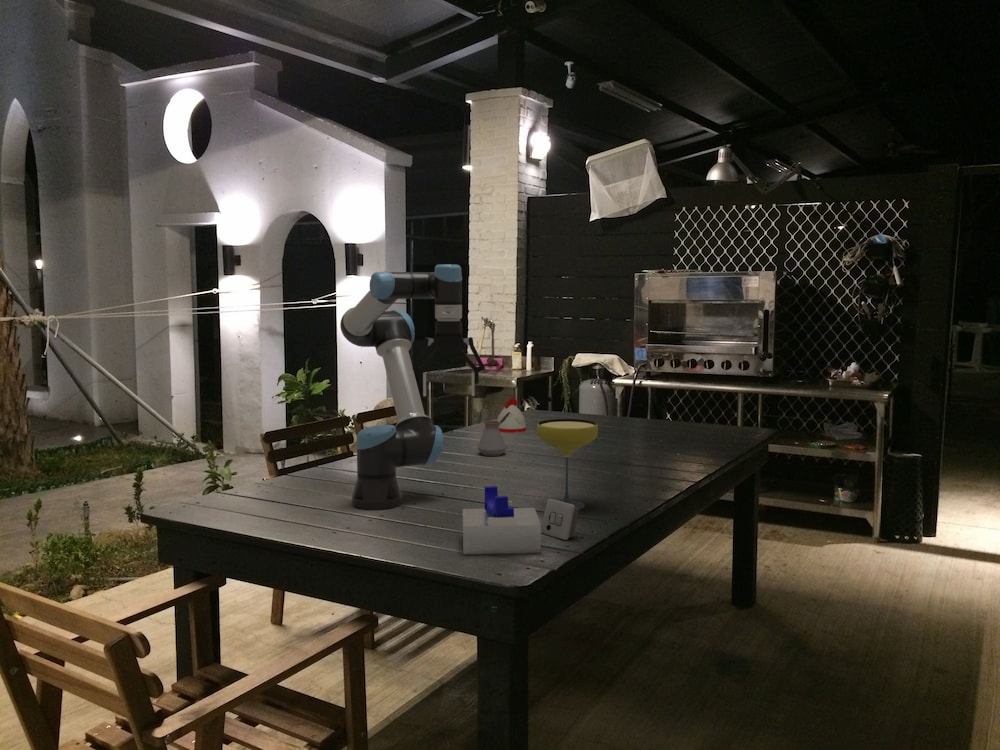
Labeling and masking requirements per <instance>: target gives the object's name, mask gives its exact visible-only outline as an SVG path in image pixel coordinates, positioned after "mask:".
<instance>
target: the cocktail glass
mask: <svg viewBox="0 0 1000 750" xmlns="http://www.w3.org/2000/svg"><path fill="white" fill-rule="evenodd" d="M598 433H599V427H598V423H597V422H595V421H591V420H587V419H586V420H585V419H578V418H556V419H554V418H552V419H546V420H541V421H539V422H537V424H536V434H537V436H538V438H539V439H540V440H541V441H543V443H546V444H548V445H549V446H551V447H553V448H555V449H556V450H558V451H559V452H560V453H561V454H562V456H563V457H564V458H565V493H564V498H563V500H561V499H560V501H561V502H565V503H568V504H572V505H574V508H578V509H579V510H582V509H584V508H585V504H584V503H583V502H581V501H576V500H570V497H569V458H570V457H571V456H572V455H573V454H574V452H575V451H577V450H579V449H580V448H582V447H584V446H587V445H589V444H590V443H592V442H593V441H594V440H595V439H596V438H597V437H598Z"/></svg>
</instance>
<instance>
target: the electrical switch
mask: <svg viewBox="0 0 1000 750" xmlns="http://www.w3.org/2000/svg"><path fill="white" fill-rule="evenodd" d="M579 512H580V509H578V508H574V505H572V504H568V503H565V502H561V500H557V499H553V498H548V499H547V501H546V505H545V508H544V513H543V514H544V515H543V520H542V524H541V534H544V535H547V536H551V537H554V538H557V539H560V540H564V541H568V540H569V538H572V537H573V538H574V536H575V531H576V526H577V521H578V517H579Z"/></svg>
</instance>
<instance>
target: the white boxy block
mask: <svg viewBox="0 0 1000 750" xmlns="http://www.w3.org/2000/svg"><path fill="white" fill-rule="evenodd" d="M508 506H512V507H513V501H512V500H508ZM513 508H514V517H491V516H490V514H489V513H488V512H487V511H486V510H485V508H462V548H463V549H462V551H463V553H462V554H463V555H497V554H498V555H501V554H502V555H505V554H509V555H511V554H541V553H542V532H541V528H542V524H541V522H540V519H539V516H538V514H537V510H536V509H535V507H513Z"/></svg>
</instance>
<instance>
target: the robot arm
mask: <svg viewBox="0 0 1000 750" xmlns="http://www.w3.org/2000/svg"><path fill="white" fill-rule="evenodd" d="M402 299H403V300H407V299H408V300H409V299H411V300H412V299H419V300H421V299H422V300H423V299H426V300H429V299H430V300H433V299H434V319H435V320H436V321H435V322H434V338H433V337H426V336H425V337H424V339H423V346H422V347H421V349H420V352H419V354H418V356H417V358H416V360H415V362H414V363H413V364H412V360H411V356H410V352H409V351H410V350H411V348H412V345H413V343H414V341H415V336H416V335H415V330H416V329H415V325H414V322H413V320H412V318H411V316H410V315H409V314H408V313H407V312H405V311H403V310H401V311H400V310H396V309H395V310H393V309H391V310H388V309H390V308H391V306H392V305H393V304H394V303H395V302H397V300H402ZM462 301H463V276H462V267H461V266H460V265H459V264H450V263H449V264H448V263H447V264H443V263H442V264H436V265H435V266H434V272H433V271H432V272H431V271H430V272H428V271H427V272H425V271H424V272H422V271H420V272H419V271H417V272H416V271H414V272H413V271H387V270H383V271H376V272H373V274H372V275H371V277H370V279H369V291H368V292H367V293H366V294H365V295H364V296H363V297H362V298H361V300H360V301H358V303H357V304H356V305H355V306H352V307H351V308H349V309H347V310H346V311H345V313H343V315H342V317H341V319H340V324H339V325H340V326H339V328H340V332H341V334H342V336H343V338H345V340H347V341H348V342H349V343H350V344H352V345H354V346H357V347H362V348H366V347H367V348H372V347H373V348H375V351H376V354H377V355H378V356H379V357H381V358H382V359H383V360H382V361H383V364H384V368H385V371H386V376H387V380H388V381H387V382H388V385H389V389H390V393H391V397H392V403H393V405H394V411H395V414H396V417H397V423H396V425H393V424H377V425H371V426H367V427H365V428H363V429H360V431H359V432H358V433H357V435H356V444H355V449H356V472H357V473H356V477H357V478H356V482H355V485H354V488H353V491H352V494H351V506H352V507H354V506H355V508H357V507H358V508H357V509H361V508H362V510H386V509H391V508H395V507H399V506H400V505H401V504H403V493H402V491H401V488H400V485H399V482H398V479H397V468H402V467H403V468H404V467H411V466H421V465H423V466H426V465H429V464H433V463H434V464H435V463H436V462H438V461H439V459H440V458H441V456H442V454H443V450H444V449H443V448H444V435H443V431H442V429H441V427H440V426H439V425H436V424H433V421H432V418H431V417H430V416H428V415H426V414H425V410H424V406H423V402H422V398H421V395H420V391H419V387H418V383H419V384H420V385H422V390H423V391H422V393H423V395H422V396H423V397H427V372H425V370H426V369H427V367H429V365H430V364H431V363H432V362H433V361H434V359H435V358H436V357H437V356H438V355H439V353H441V354H443V355H444V354H446V355H447V354H453V355H454V354H456V353H458V354H459V355H460V357H462V359H463V360H464V361H465V362H466V364H467V365H468V366H469V367H470V369H472V370H473V371H471V397H474V396H475V394H476V393H475V389H476V388H475V384H476V385H478V384H479V379H480V378H479V373H480V372H482V371H484V370H485V369H486V367H485V365H484V363H483V361H482V359H481V357H480V355H479V353H478V351H477V349H476V347H475V345H474V339H473V337H472V336H469V337H466V338H463V321H461V319H462V318H463V304H462V303H463V302H462ZM432 343H433V344H434V345H435V347H436V348H435V349H434V351H433V352H432V353H431V354H430V356H429V357H428V358H427V359H426V360H425V361H424V363H423V364H422V365H421V366H419V365H420V363H421V362H422V359H423V357H424V355H425V354H426V353H425V352H426V351H427V349H428V348H429V346H431V345H432ZM464 343H465V344H466V346H468V347H469V348H470V350H471V353H472V354H473V356H474V359H475V360H476V362H477V365H478V366H476V364H475V363H474V362H473V361H472V360H471V358H470V357H469V356H468V355H467V354H466V353H465V351H464V350H463V349H462V348H461V347H462V346H463V344H464ZM415 372H417V373H418V383H417V379H416V376H415Z"/></svg>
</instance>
